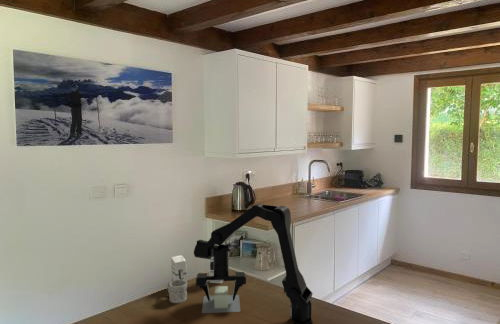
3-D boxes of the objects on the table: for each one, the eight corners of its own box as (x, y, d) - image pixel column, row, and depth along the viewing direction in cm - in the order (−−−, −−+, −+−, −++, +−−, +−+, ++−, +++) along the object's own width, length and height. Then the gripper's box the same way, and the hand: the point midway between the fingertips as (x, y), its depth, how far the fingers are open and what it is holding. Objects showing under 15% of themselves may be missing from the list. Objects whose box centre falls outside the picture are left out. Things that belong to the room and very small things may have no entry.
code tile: (238, 295, 146) (238, 294, 146) (240, 312, 132) (240, 311, 132) (203, 296, 145) (203, 295, 145) (201, 313, 131) (201, 312, 131)
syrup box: (221, 284, 157) (221, 251, 156) (208, 282, 158) (208, 250, 157) (225, 278, 163) (225, 247, 162) (212, 277, 164) (212, 246, 163)
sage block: (227, 298, 143) (227, 286, 143) (228, 308, 135) (227, 295, 135) (214, 298, 143) (214, 286, 142) (214, 308, 135) (214, 295, 134)
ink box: (171, 283, 158) (170, 256, 157) (182, 281, 160) (182, 254, 160) (175, 290, 150) (175, 262, 150) (187, 288, 153) (187, 260, 152)
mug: (190, 299, 143) (190, 283, 142) (176, 305, 138) (175, 288, 137) (175, 292, 149) (175, 276, 149) (161, 297, 145) (161, 281, 144)
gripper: (244, 253, 146) (244, 290, 147) (197, 254, 145) (198, 292, 146) (246, 262, 135) (246, 303, 136) (195, 264, 134) (196, 305, 135)
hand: (221, 300), depth 139 cm, fingers open, 9 cm apart
